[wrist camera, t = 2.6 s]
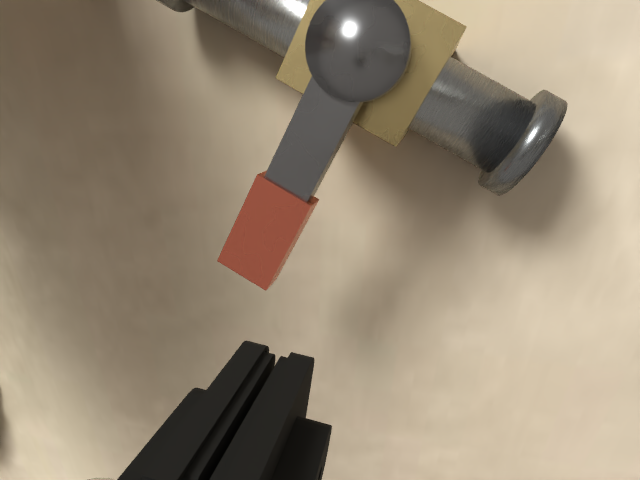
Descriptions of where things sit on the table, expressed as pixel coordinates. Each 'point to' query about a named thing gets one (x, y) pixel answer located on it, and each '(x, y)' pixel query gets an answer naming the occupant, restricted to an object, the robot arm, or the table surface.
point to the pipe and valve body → (415, 87)
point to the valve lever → (318, 128)
